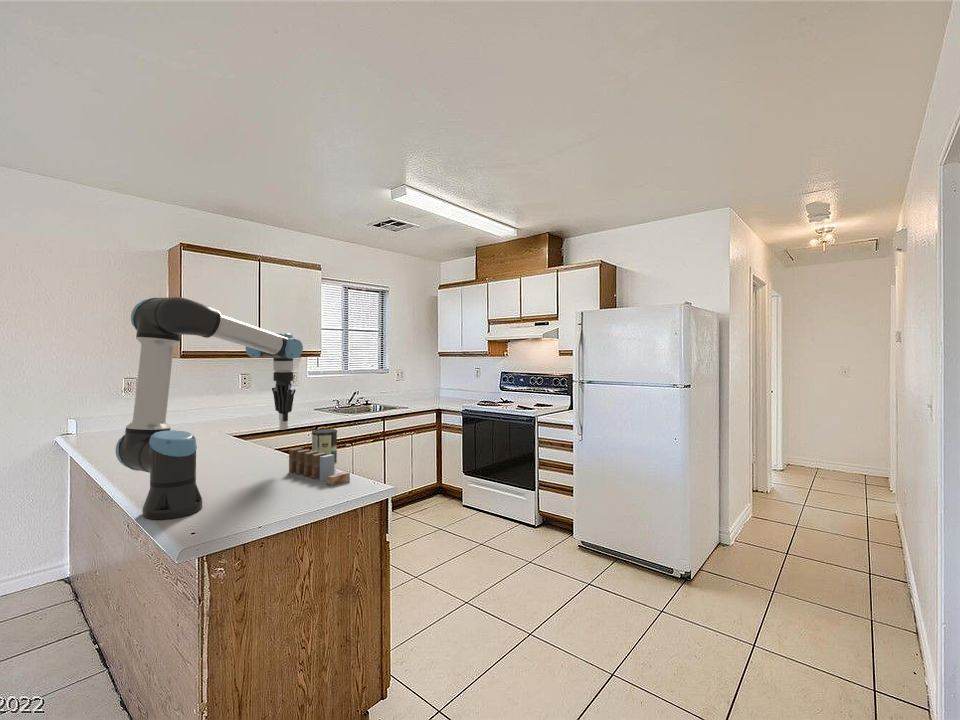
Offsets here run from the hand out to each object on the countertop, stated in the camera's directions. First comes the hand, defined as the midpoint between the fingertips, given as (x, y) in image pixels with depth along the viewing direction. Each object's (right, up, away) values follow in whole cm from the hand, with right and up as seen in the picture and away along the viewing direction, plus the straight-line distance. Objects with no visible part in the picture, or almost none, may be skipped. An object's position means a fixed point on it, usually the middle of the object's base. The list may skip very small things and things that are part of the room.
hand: (283, 428), depth 198 cm
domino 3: (+15, -17, -10) cm, 25 cm away
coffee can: (+14, -16, +8) cm, 23 cm away
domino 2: (+11, -16, -8) cm, 21 cm away
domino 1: (+7, -16, -5) cm, 18 cm away
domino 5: (+23, -17, -16) cm, 32 cm away
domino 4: (+19, -17, -13) cm, 28 cm away
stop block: (+28, -17, -20) cm, 38 cm away
